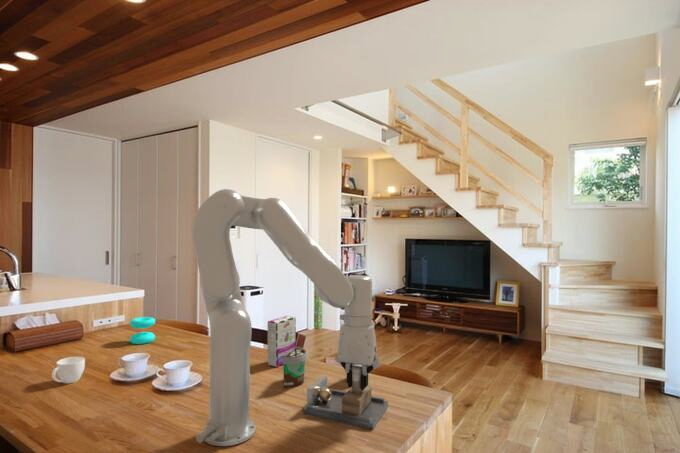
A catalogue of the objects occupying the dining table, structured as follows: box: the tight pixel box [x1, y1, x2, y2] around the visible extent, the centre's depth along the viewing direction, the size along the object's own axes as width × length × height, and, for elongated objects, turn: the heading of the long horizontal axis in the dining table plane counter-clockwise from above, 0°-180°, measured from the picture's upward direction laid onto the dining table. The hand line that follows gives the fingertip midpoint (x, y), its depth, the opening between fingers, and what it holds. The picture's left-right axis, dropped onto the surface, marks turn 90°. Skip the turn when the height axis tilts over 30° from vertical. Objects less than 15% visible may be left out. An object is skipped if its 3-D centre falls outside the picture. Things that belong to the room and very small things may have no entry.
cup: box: [51, 356, 86, 384], centre depth 130 cm, size 8×10×7 cm
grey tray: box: [302, 375, 389, 430], centre depth 112 cm, size 14×20×6 cm
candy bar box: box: [267, 315, 297, 368], centre depth 151 cm, size 11×5×16 cm, turn 148°
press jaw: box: [342, 365, 372, 415], centre depth 110 cm, size 10×5×11 cm, turn 157°
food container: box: [282, 346, 309, 389], centre depth 131 cm, size 12×6×10 cm, turn 168°
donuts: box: [129, 316, 156, 345], centre depth 175 cm, size 10×10×10 cm
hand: (357, 386), depth 110 cm, fingers closed on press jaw, 3 cm apart
